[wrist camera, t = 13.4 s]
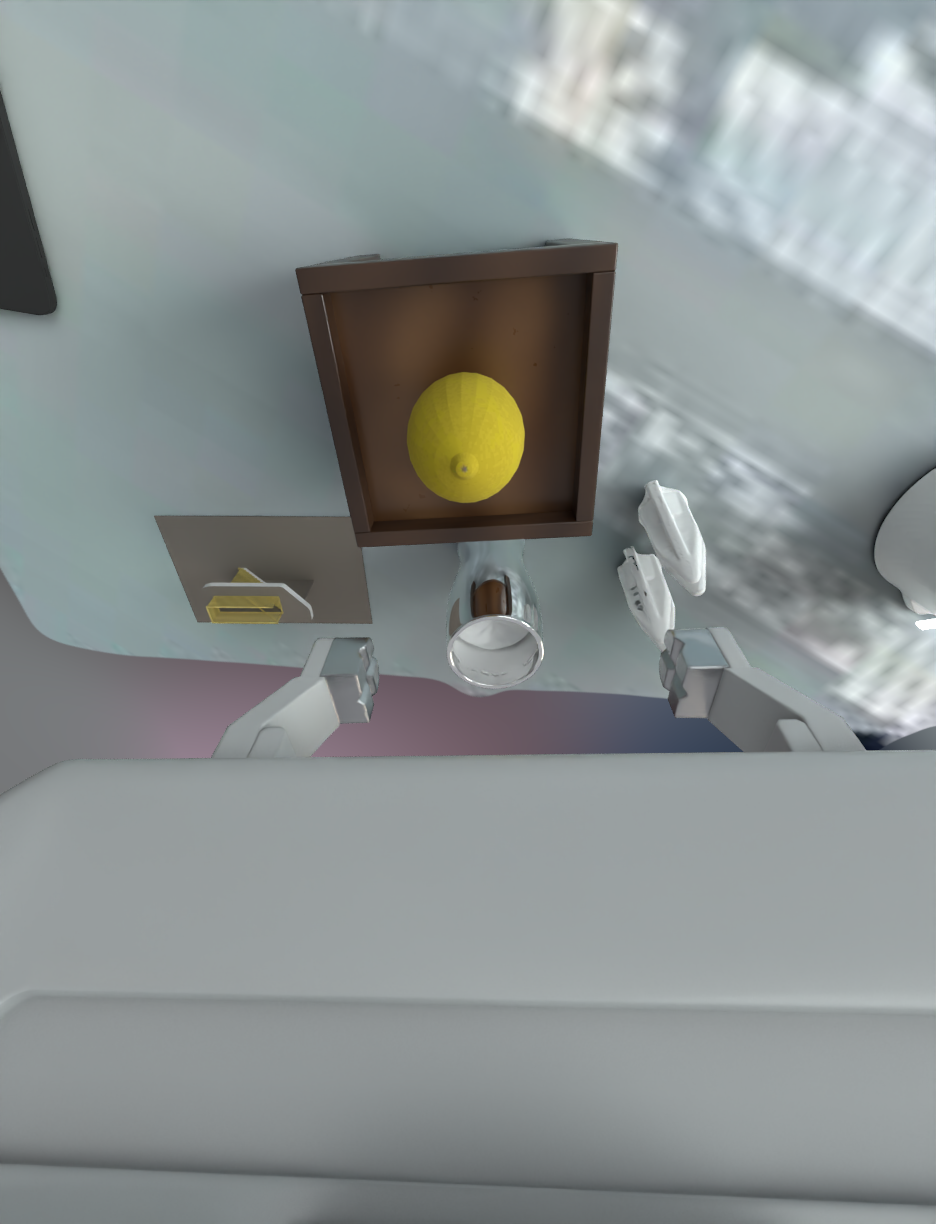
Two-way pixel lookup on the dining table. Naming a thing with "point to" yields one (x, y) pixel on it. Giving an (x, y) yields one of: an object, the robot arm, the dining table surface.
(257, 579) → the platform
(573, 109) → the dining table surface
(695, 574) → the shaker set
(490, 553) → the beer glass
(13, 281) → the phone
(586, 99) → the dining table surface
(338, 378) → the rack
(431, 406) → the lemon
